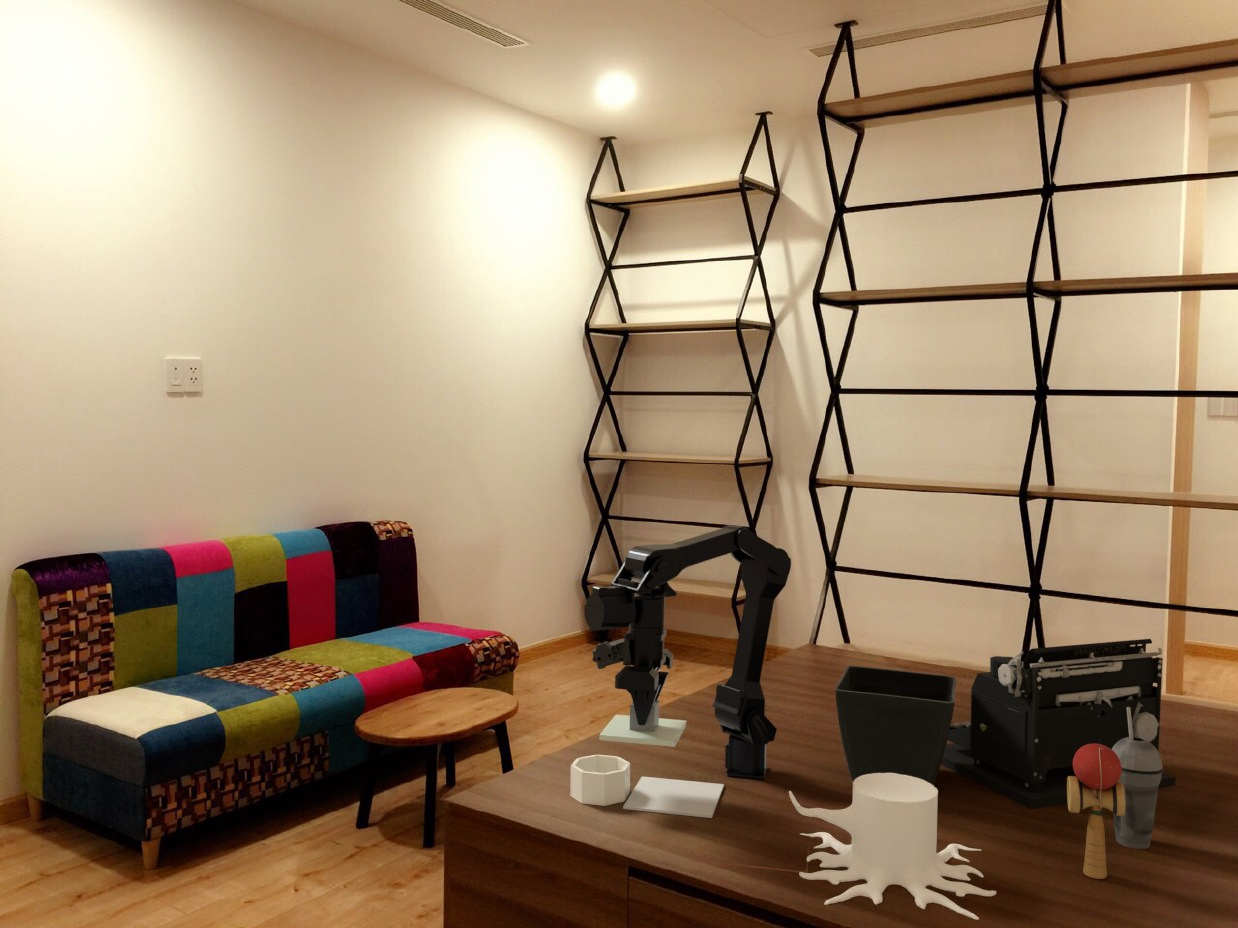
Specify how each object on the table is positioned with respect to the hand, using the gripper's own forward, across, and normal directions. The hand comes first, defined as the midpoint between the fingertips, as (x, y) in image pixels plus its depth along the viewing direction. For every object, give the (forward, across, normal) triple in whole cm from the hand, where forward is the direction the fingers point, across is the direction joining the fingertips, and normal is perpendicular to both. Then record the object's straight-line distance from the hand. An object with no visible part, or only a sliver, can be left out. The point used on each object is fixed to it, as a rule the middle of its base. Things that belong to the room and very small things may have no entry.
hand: (644, 721), depth 164 cm
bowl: (+12, 0, -7) cm, 14 cm away
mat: (+12, -1, +5) cm, 13 cm away
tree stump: (+13, +16, +38) cm, 43 cm away
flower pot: (+12, -20, +41) cm, 47 cm away
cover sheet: (+2, 0, 0) cm, 2 cm away
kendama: (+12, +13, +65) cm, 67 cm away
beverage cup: (+12, 0, +73) cm, 74 cm away
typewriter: (+12, -30, +66) cm, 74 cm away
